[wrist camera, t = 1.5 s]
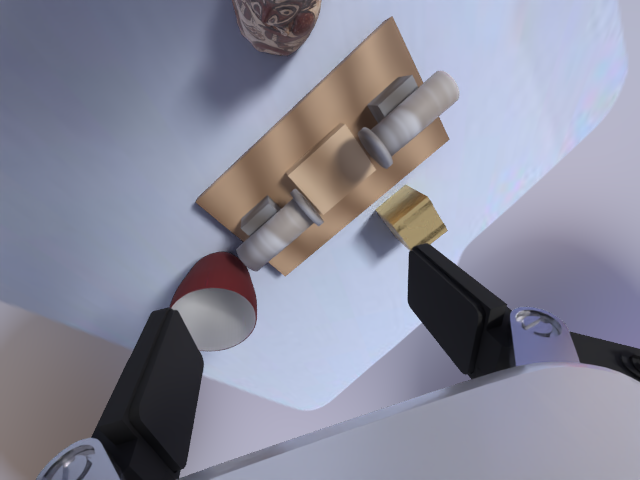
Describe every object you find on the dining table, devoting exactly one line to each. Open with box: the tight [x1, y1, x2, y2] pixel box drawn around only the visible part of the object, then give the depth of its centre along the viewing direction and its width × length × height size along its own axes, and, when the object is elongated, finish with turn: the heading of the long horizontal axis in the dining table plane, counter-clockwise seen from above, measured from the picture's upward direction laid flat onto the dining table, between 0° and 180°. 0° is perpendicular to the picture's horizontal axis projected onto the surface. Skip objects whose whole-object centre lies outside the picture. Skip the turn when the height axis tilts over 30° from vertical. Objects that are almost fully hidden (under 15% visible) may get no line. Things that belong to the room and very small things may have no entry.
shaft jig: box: [196, 17, 459, 276], centre depth 28 cm, size 26×14×8 cm, turn 129°
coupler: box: [376, 185, 448, 251], centre depth 34 cm, size 6×5×5 cm
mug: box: [170, 252, 257, 351], centre depth 30 cm, size 10×8×10 cm
